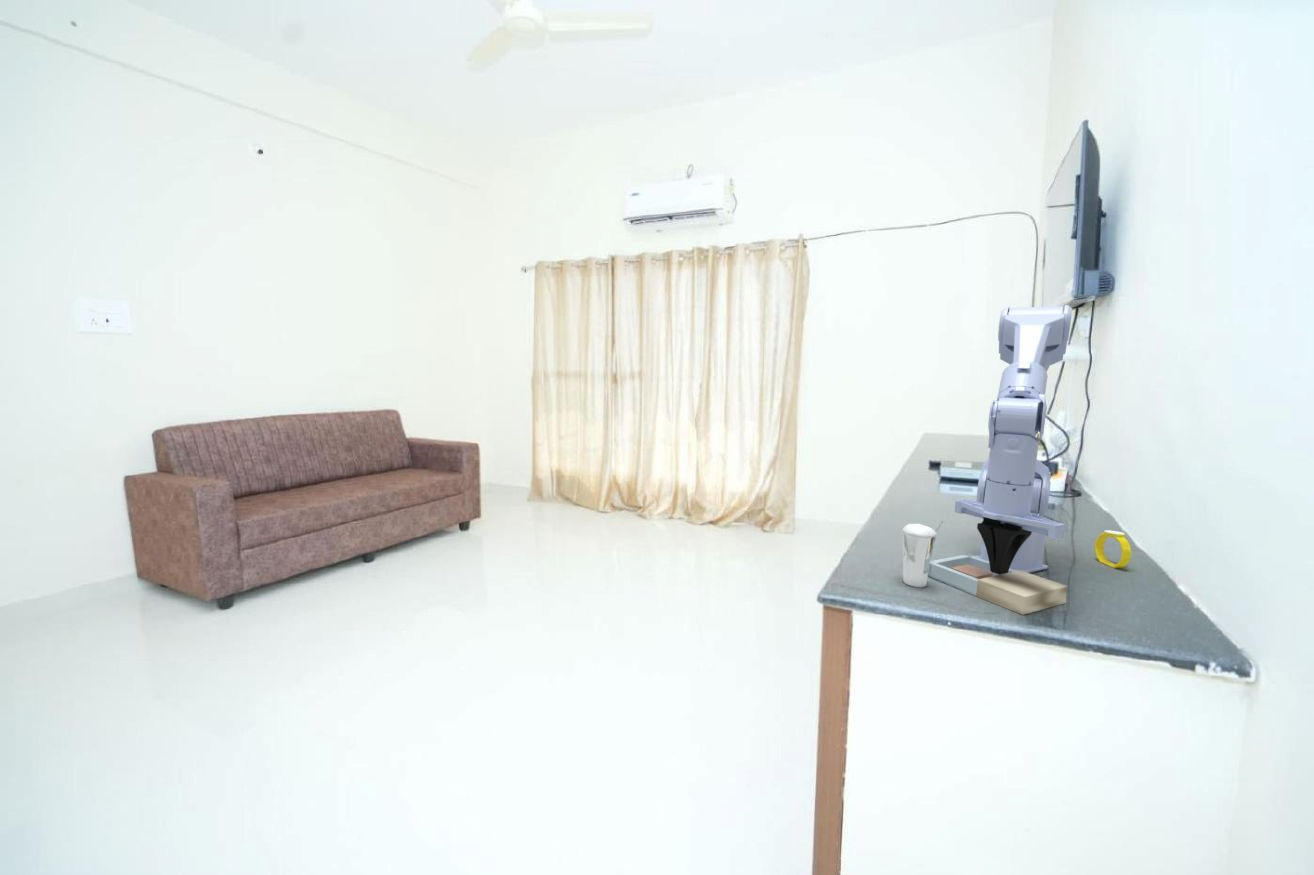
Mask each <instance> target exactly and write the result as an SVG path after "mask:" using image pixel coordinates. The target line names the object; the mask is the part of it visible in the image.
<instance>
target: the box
mask: <svg viewBox="0 0 1314 875" xmlns="http://www.w3.org/2000/svg"><path fill="white" fill-rule="evenodd" d="M974 556H975V555H971V554H960V555H955V556H949V557H944V558H941V559H936V560H935V559H934V560H930V566H929V572H928V577H927V578H931V579H934V580H936V581H938V582H941V583H943V584H946V585H948V586H950V587H953V588H955V589H958V590H960V591H963V592H965V593H966V594H970V595H971V596H975V597H977V596H976V592H977V583H978V579H977V578H974V577H972V576H969V575H966V574H964V573H961V572H958V571H956V570H953V569H951V568H952V567H957V566H962V565H967V564H969V565H971V566H974V567H977V568H980V569H983V570H985V571H988V572H991V571H990V564H989V561H986V560H983V559H980V558H977V557H974ZM1010 572H1015V570H1012V569H1009V571H1008V573H1010ZM991 573H993V572H991ZM996 575H999V574H996V573H993V576H996Z"/></svg>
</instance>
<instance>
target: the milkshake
mask: <svg viewBox="0 0 1314 875" xmlns="http://www.w3.org/2000/svg"><path fill="white" fill-rule="evenodd" d="M943 523H944V520H941V522H940V523H939V525H938V527H937V529H935V530H934V529H933V528H931V527H930V526H927V525H923V524H922V523H908V524H906V525H905V526H904V527H903V528H902V553H903V555H902V561H903V562H902V582H903V583H904V584H906V585H908V586H910V587H915V588H925V587H927V582H928V578H929V577H928V572H929V566H930V561H932V555H933V552H934V547H935V543H936V538H937V533H938V531H939V529H940V528H941V527H942V524H943Z"/></svg>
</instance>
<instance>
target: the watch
mask: <svg viewBox="0 0 1314 875" xmlns="http://www.w3.org/2000/svg"><path fill="white" fill-rule="evenodd" d="M1109 537H1110V538H1114V539H1116V541H1117V542H1118V543H1119V546H1120V549H1121V555H1120V556H1121V557H1120V559H1119V561H1118V563H1113V562H1112V561H1109V560H1108V558H1107V556H1106V554H1105V548H1104V547H1105V543H1106V540H1107V539H1108V538H1109ZM1131 548H1132V547H1131V546H1130V542H1129V541H1128V540H1127V539H1126V533H1125V532H1122V531H1117V530H1109V529H1105V530H1103V532H1102V533H1101V534H1099V536H1098V537H1097V538H1096V540H1095V544H1094V551H1095V555H1096V557H1097V560H1098V561H1099V563H1102V564H1104V565H1107V566H1109V567H1111V568H1113V569H1123V568H1125V567H1126V566H1128V564H1129V562H1130V561H1131V560H1132V559H1131V558H1132V549H1131Z"/></svg>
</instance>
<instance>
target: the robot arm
mask: <svg viewBox="0 0 1314 875" xmlns="http://www.w3.org/2000/svg"><path fill="white" fill-rule="evenodd" d="M1072 313H1073V308H1072V307H1071V306H1070V305H1069V304H1065V305H1064V306H1061V305H1060V306H1031V307H1030V306H1029V307H1010V306H1005V307H1004V308H1003V309H1002V310H1001V311H1000V316H999V322H998V323H999V324H998V333H997V335H998V336H997V339H998V354H999V358H1000V360H1001V361H1003V362H1005V363H1007V364H1008V366H1006V367H1005V368H1004V369H1003V371H1002V373H1001V374H1002V375H1001V378H1000V383H999V388H998V393H997V396H996V400H994V399H993V400H992V401H991V404H990V408H989V414H988V423H987V424H988V428H987V429H988V448H989V453H988V460H986V461H985V462H984V464H982V466H981V472H980V475H979V479H978V483H977V492H976V501H973V500H968V499H956V500H955V503H954V505H955V506H954V513H957V514H965V515H969V516H972V517H976V518H980V519H982V520H981V522H978V523H977V524H976V526H977V527H976V528H977V531H978V533H979V534H980V537H981V544H980V554H979V555H973V556H974V557H977V558H980V559H983V560H986V561H989V564H990V571H991V572H993V573H996V574H999V575H1001V574H1005V573H1008V571H1009V569H1012V570H1015V571H1019V570H1021V571H1024V572H1027V573H1030V574H1031V573H1034V572H1039V571H1042V570H1047V569H1049V565H1047V564H1045V563H1043V560H1044V553H1045V547H1046V546H1045V545H1046V539H1047V538H1049V539H1052V540H1058V539H1063V538H1064V534H1065V527H1066V525H1065V523H1062V522H1059V521H1055V520H1051V519H1048V518H1046V517H1044V516H1045V515H1047V514H1048V507H1049V501H1050V499H1049V498H1050V493H1051V492H1050V491H1051V474H1052V472H1051V471H1050V468H1049V467H1048V466H1046V464H1044V463H1042V462H1041V461H1040V460H1039V459H1038V451H1039V444H1040V442H1039V441H1041V440H1042V438H1043V435H1044V431H1045V425H1046V417H1047V406H1048V405H1047V401H1046V397H1047V396H1046V391H1047V390H1046V389H1047V383H1048V370H1049V368H1050V367H1051V366H1053V365H1054V364H1056V363H1059V362H1062V361H1063V360H1064V355H1065V354H1067V352H1066V351H1067V344H1068V341H1069V337H1070V328H1071V323H1072V322H1071V321H1072ZM1037 432H1039V440H1038V439H1037V438H1036V434H1037Z"/></svg>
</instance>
